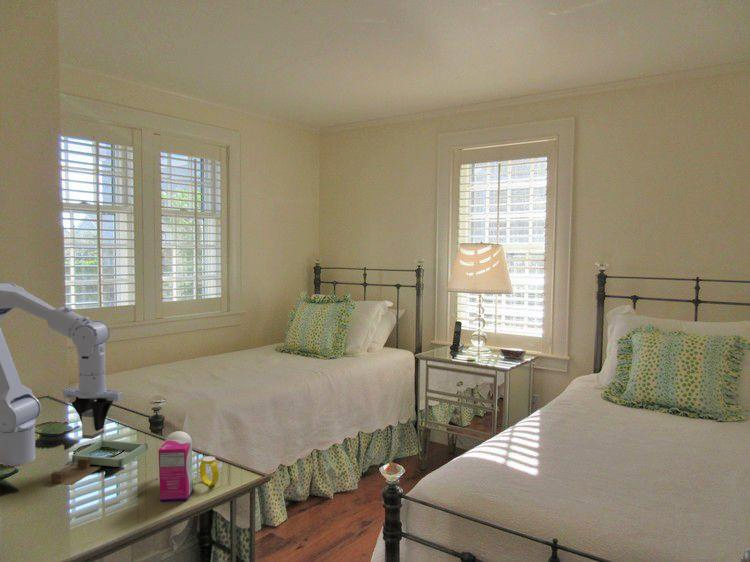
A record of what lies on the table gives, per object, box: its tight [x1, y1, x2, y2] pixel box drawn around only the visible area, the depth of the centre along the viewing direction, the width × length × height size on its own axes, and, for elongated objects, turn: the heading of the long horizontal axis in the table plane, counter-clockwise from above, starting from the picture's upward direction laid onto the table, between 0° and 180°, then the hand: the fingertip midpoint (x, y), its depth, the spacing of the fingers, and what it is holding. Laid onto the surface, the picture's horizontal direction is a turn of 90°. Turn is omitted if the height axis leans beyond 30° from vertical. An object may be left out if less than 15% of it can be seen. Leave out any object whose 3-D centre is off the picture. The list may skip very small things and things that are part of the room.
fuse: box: [81, 409, 105, 440], centre depth 133 cm, size 3×4×6 cm, turn 170°
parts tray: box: [71, 439, 149, 468], centre depth 139 cm, size 13×11×2 cm
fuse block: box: [39, 457, 102, 486], centre depth 128 cm, size 8×10×3 cm
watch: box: [199, 456, 219, 487], centre depth 126 cm, size 6×3×6 cm, turn 47°
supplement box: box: [157, 438, 194, 503], centre depth 120 cm, size 6×6×12 cm
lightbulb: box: [164, 430, 192, 442], centre depth 128 cm, size 6×6×11 cm
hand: (93, 428), depth 134 cm, fingers closed on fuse, 3 cm apart
